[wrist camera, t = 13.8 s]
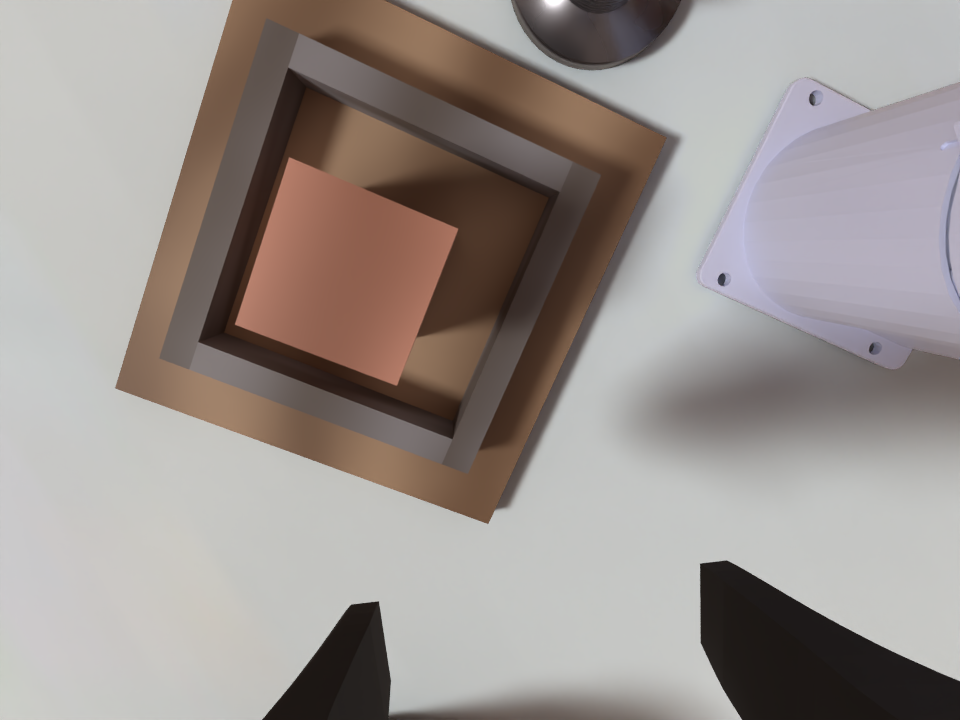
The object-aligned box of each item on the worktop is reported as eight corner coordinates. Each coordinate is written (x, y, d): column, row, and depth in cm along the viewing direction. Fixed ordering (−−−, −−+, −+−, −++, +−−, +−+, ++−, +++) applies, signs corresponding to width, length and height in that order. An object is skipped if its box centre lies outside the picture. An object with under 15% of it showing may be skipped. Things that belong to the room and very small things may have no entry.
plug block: (456, 235, 19) (458, 229, 12) (416, 337, 20) (397, 385, 13) (350, 190, 18) (289, 157, 12) (312, 297, 19) (234, 324, 12)
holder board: (656, 143, 20) (691, 125, 17) (486, 511, 22) (491, 551, 19) (263, -48, 18) (225, -106, 15) (131, 381, 20) (77, 403, 18)
